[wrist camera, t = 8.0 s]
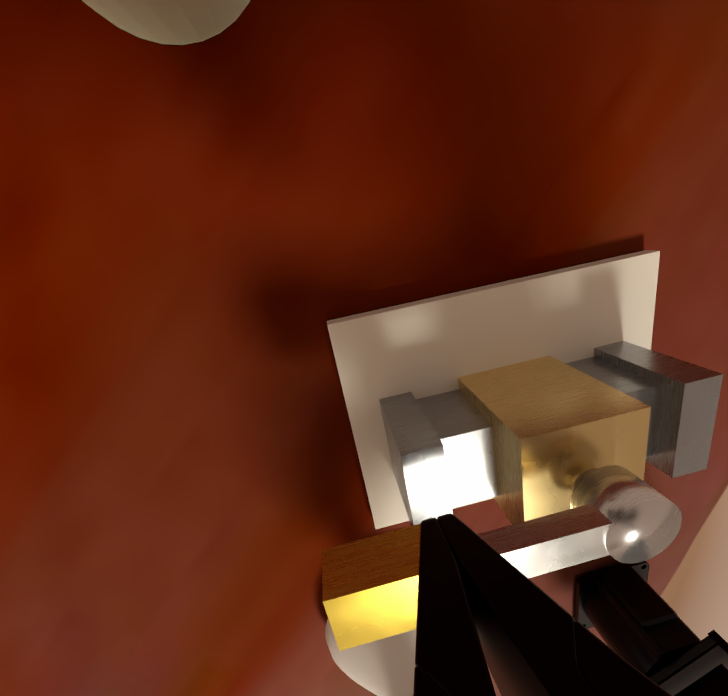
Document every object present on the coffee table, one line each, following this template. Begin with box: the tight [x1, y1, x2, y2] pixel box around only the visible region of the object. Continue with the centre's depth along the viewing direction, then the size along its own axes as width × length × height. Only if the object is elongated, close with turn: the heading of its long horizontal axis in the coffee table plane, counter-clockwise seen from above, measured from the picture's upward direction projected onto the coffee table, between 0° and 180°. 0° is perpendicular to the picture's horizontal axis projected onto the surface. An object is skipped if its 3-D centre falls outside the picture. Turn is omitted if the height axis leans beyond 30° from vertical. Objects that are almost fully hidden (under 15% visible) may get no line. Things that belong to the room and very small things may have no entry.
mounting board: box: [327, 250, 660, 529], centre depth 22 cm, size 15×20×1 cm
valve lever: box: [322, 465, 682, 651], centre depth 14 cm, size 14×3×3 cm, turn 101°
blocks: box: [379, 341, 723, 526], centre depth 19 cm, size 6×16×7 cm, turn 101°
